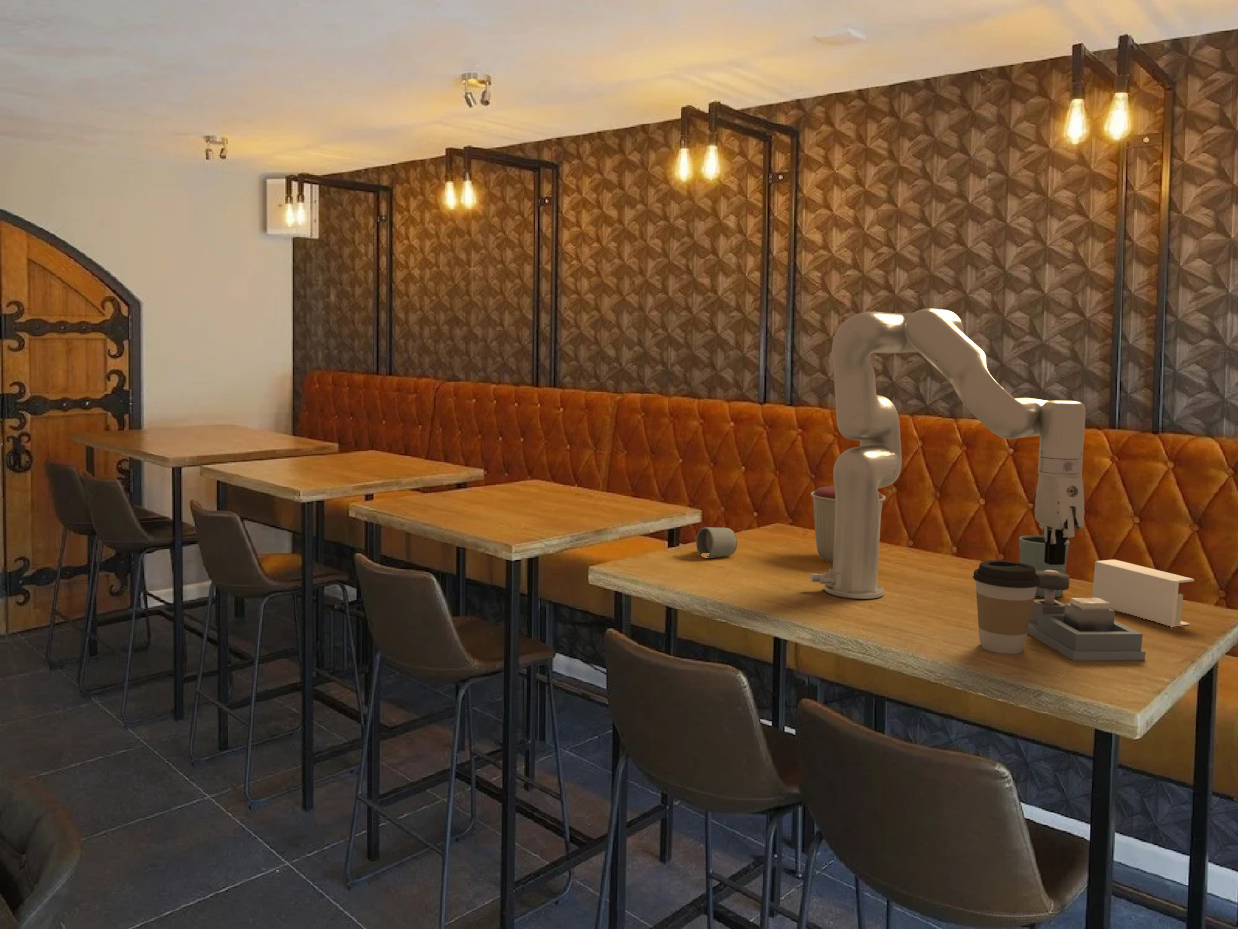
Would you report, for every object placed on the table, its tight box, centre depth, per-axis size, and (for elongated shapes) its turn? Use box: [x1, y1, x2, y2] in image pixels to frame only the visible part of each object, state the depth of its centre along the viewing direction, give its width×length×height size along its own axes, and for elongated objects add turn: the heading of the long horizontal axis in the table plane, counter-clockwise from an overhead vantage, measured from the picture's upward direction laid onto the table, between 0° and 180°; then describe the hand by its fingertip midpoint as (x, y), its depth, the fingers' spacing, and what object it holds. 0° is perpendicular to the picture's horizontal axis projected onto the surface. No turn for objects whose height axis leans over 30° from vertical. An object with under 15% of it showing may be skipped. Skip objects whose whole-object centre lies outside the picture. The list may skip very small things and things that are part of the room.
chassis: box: [1027, 599, 1146, 661], centre depth 185 cm, size 13×22×6 cm, turn 5°
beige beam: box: [1091, 559, 1195, 627], centre depth 206 cm, size 20×6×9 cm, turn 23°
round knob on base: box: [1036, 570, 1070, 605], centre depth 191 cm, size 6×6×7 cm
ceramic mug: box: [695, 526, 738, 558], centre depth 253 cm, size 11×8×8 cm
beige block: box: [1064, 597, 1116, 632], centre depth 181 cm, size 5×6×7 cm
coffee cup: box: [971, 559, 1041, 655], centre depth 179 cm, size 11×11×15 cm
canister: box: [810, 485, 886, 563], centre depth 249 cm, size 18×18×21 cm
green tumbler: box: [1018, 534, 1070, 598], centre depth 221 cm, size 10×10×12 cm
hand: (1054, 563), depth 190 cm, fingers closed
